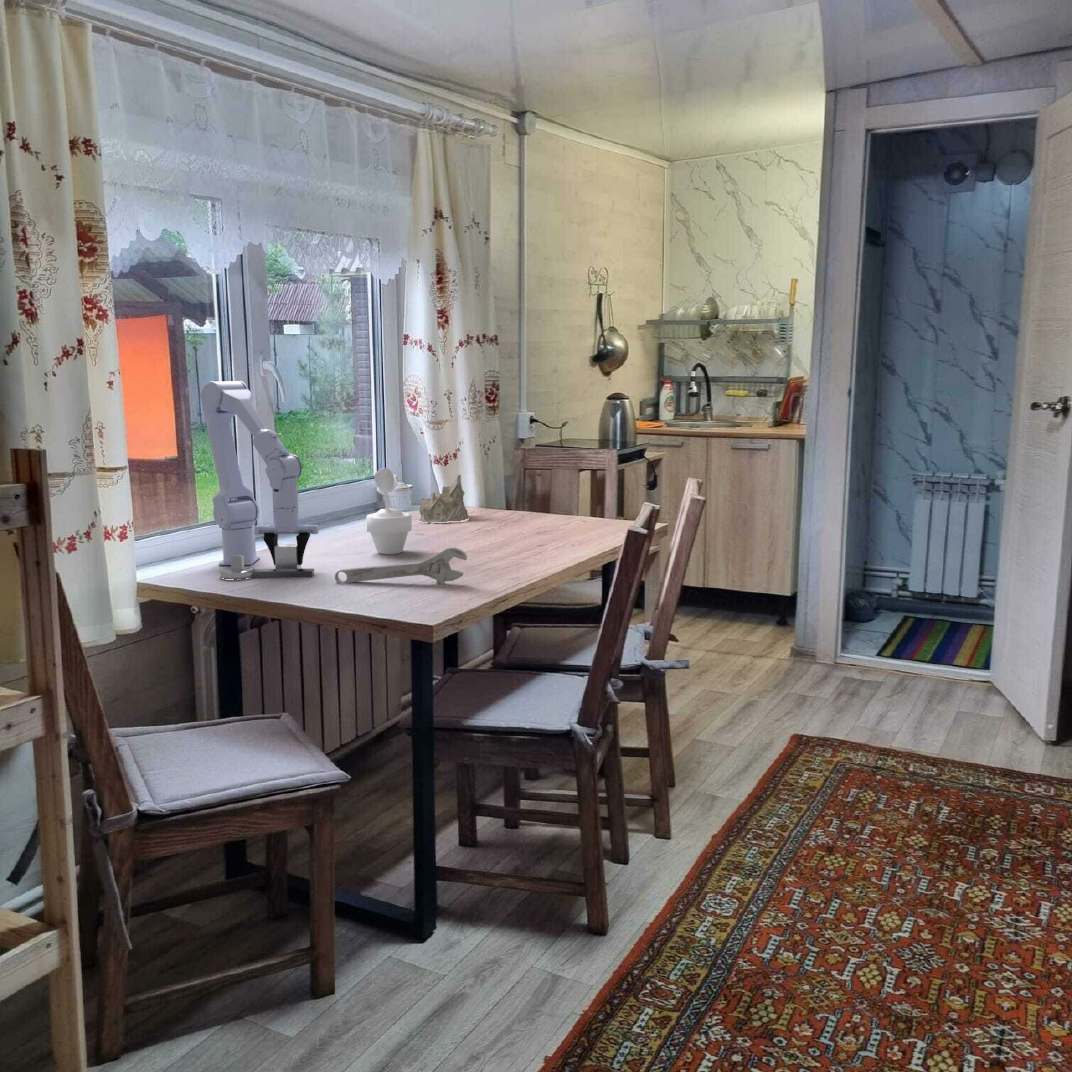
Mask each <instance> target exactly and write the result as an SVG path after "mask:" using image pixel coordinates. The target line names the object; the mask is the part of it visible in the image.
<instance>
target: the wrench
mask: <svg viewBox="0 0 1072 1072" xmlns="http://www.w3.org/2000/svg"><path fill="white" fill-rule="evenodd" d="M453 558H457V559H460V560H463V561H467V559H468V555H467V554H466V553H465V552H464V551H463V550H462V549H460V548H458V547H454V546H453V547H450V546H449V547H447V548H445V549H443V550H442V551H440V552H439V553H437V554H435V555H433V556H431V557H428V558H427V559H424V560H422V561H417V562H416V561H415V562H405V563H396V564H385V565H376V566H375V565H373V566H365V567H354V568H352V567H351V568H341V569H339V570H338V571H337V572H335V575H334V580H335V582H337V583H338V584H340V583H342V584H348V583H357V582H358V583H359V582H367V581H368V582H369V581H375V580H385V579H386V580H387V579H395V578H403V577H414V576H424V577H429V578H431V579H434V580H436V581H435V584H437V583H440V584H439V585H441V584H443V583H444V584H445V582H453V581H455V580H458V579H460V578H461V577H463V576H464V572H463V571H460V570H458V569H452V568H451V564H449V563H450V561H452V559H453ZM340 573H344V574H345V575H346V579H345V580H341V578H340V577H339V574H340ZM444 584H443V585H444Z"/></svg>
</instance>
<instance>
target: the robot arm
mask: <svg viewBox="0 0 1072 1072" xmlns="http://www.w3.org/2000/svg"><path fill="white" fill-rule="evenodd" d="M199 396H200V401H201V406H202V409H203V410H202V411H203V415H204V419H205V420H204V421H205V424H206V428H207V434H208V438H209V443H210V448H211V452H212V458H213V462H214V465H215V470H216V475H217V480H218V485H219V488H220V490H219V491H218V492H216V494H215V495H214V496H213V498H212V502H213V503H212V504H213V513H212V514H213V519H214V521H215V523H216V524H217V526H218V528H219V529H221V539H222V541H221V542H222V555H223V556H222V558H223V560H221V561H220V562H218V566H231V556H232V555H244V566H250V565H253V564H254V563H255V562H257V561H259V559H260V558H261V556H260V555H257V553H256V551H257V549H256V548H257V546H256V536H259V535H263V537H262V540H263V541H264V543H265V544H266V546H267V548H268V550H269V552H270V555H271V559H272V561H273V566H275V548H274V547H275V546H276V545H278V544H279V541H278V539H279V535H296V536H295V537H296V538H295V539H296V543H297V548H298V565H301V566H302V565H303V562H304V561H303V560H304V554H305V551H306V548H307V544H308V542H309V539H310V537H311V534H312V535H317V534H318V535H319V524H300V519H299V497H298V496H299V494H298V492H299V491H298V478H300V476H301V475H302V472H303V465H302V462H301V460H300V458H299V457H298V455H295V454H293V453H291V451H288V449H286V448H285V446H284V444H283V442H282V441H281V439H280V438H279V436H278V434H277V433H276V431H274V430H271V429H267V427H266V426H265V424H264V422H263V421H262V419H261V416H260V415H259V413H258V411H257V410H256V408H255V406H254V405H253V403H252V392H251V391H250V390H249V387H248V386H247V384H246V383H245V382H244V381H242V380H235V381H213V380H209V381H207V382H205V384H204V386H203V387H202V389H201V391H200V393H199ZM235 416H237V417H238V418H239V420H240V421H241V423H242V424H243V425H244V426H245V427H246V429H247V430H248V431H249V433H250V434H251V435H252V436H253V440H252V445H253V447H254V448H255V450H256V451H257V452H258V454H259V456H260V457H261V458H262V460H263V462H264V463H265V465H266V467H265V475H266V477H267V479H268V480H269V486H270V488H271V492H272V493H271V495H272V509H273V510H272V511H273V524H262V525H261V524H260V525H257V524H255V523H256V521H257V520H258V519H259V515H260V509H259V505H258V503H257V501H256V500H255V498H254V493H253V492H252V490H251V489H249V488H247V487H246V486H245V485H244V484H243V479H242V474H241V470H240V464H239V461H238V457H237V451H236V446H235V442H234V436H233V432H232V428H231V424H230V423H231V420H232V419H233V418H234V417H235ZM253 526H254V529H253Z"/></svg>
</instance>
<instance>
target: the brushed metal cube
mask: <svg viewBox="0 0 1072 1072" xmlns="http://www.w3.org/2000/svg"><path fill="white" fill-rule="evenodd" d="M274 548H275V565H274V569H302V564H301V565H298V548H297V542H295V543H294V542H289V543H288V542H287V543H286V542H284V543H279V542H278V545H276V546H275V547H274Z"/></svg>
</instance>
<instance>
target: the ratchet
mask: <svg viewBox="0 0 1072 1072" xmlns="http://www.w3.org/2000/svg"><path fill="white" fill-rule="evenodd" d="M314 576H315V568H301V569H275V568H257V569H256V568H254V567H248V566H247V567H246V566H245V565H244V555H232V556H231V565H230V567H229V568H224V569H221V570H220V571H219V578H224V579H234V580H237V579H246V578H252V579H280V578H281V579H285V578H286V579H289V578H292V579H293V578H295V579H296V578H297V579H298V578H313V577H314ZM237 581H238V580H237Z"/></svg>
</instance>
